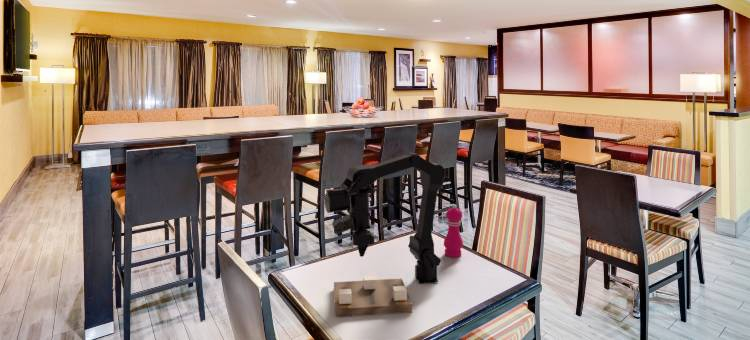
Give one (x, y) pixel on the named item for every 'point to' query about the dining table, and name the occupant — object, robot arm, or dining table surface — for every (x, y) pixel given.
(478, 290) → the dining table surface
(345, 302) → the tab
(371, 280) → the tab
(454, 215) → the pepper mill
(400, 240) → the dining table surface
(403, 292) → the tab
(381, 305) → the switch board
